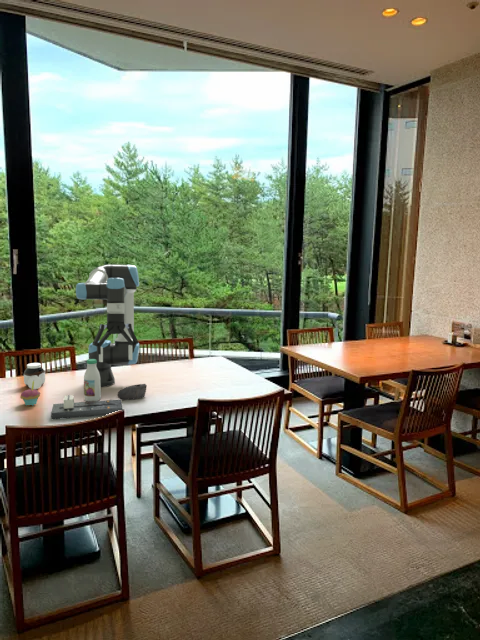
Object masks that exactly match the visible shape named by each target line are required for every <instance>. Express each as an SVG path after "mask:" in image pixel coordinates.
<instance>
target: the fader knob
mask: <svg viewBox="0 0 480 640" xmlns="http://www.w3.org/2000/svg"><path fill="white" fill-rule="evenodd" d="M63 403H64V409H67V408H73V407H74V403H75V396H74V395H72V394H68V395H63Z"/></svg>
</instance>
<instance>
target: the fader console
mask: <svg viewBox="0 0 480 640" xmlns="http://www.w3.org/2000/svg"><path fill="white" fill-rule="evenodd" d="M52 404H53V405H52V408H51V412H50V416H51V418H50V419H53V420H61V419H60V418H66V419H76V418H77V419H78V418H89V417H103V415H105V416H107V415H106V414H109V413H112V412H115V411H118V410H122V411H123V405H122V404H123V403H122V399H120V398H119V399H110V400H108V399H107V400H98V401H91V402H89V401H81V402H78V401H77V402H74V407H73V408H67V409H64V402H62V403H52Z"/></svg>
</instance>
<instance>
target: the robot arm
mask: <svg viewBox="0 0 480 640" xmlns="http://www.w3.org/2000/svg"><path fill="white" fill-rule="evenodd" d="M139 278H140V277H139V272H138V268H137V266H136V265H133V264H103V265H100V266H97V267H96V268H93V270H91V271H90V273H89V276H88V279H87V280H86V281H85V282H78V283H76V285H75V295H76V296H75V297H76V298H77V299H78V300H106V312H107V314H106V324H103V323H100V324H99V328H98V331H97V334H96V335H95V338H94V339H93V342H91V343H89V345H88V352H87V353H88V359H96V360H97V364H96V367H97V369H98V371H99V374H100V385H101V388H105V387H109V386H113V385H115V383H116V379H115V376H114V374H113V370H112V365H119V366H121V365H128V366H129V365H136V364H137V362H138V358H139V353H140V343H139V340H138V339H137V336H136V335H135V330H134V329H135V328H134V327H135V316H134V315H135V314H134V313H135V312H134V310H135V309H134V307H135V306H134V305H135V302H134V300H135V298H134V297H135V295H134V294H135V292H136V291H137V288H138V287H140V279H139ZM104 330H106V331H105V334H104V335H103V333H104ZM102 335H103V336H102ZM111 335H117V337H116V338H115V339H114V343H113V342H112V341H111V340H109V339H108V338H109V337H110V336H111Z"/></svg>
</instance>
